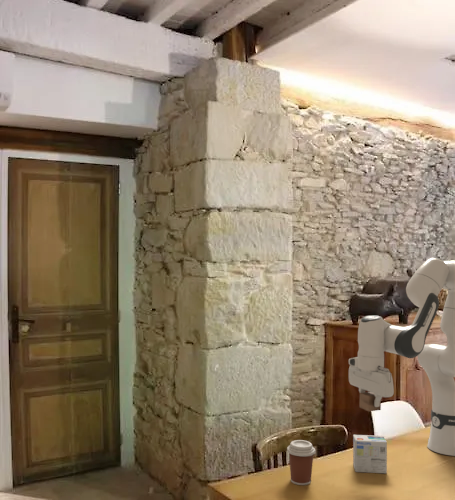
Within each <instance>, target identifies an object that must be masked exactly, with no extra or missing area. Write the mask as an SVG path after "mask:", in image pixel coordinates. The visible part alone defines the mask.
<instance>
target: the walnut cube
mask: <svg viewBox="0 0 455 500" xmlns="http://www.w3.org/2000/svg"><path fill="white" fill-rule="evenodd" d="M375 398H376V397H375V394H374V393H372V392H369V391H365V392H363V393H360V392H359V408H360V409H362V410H364V411H367V412H377V411H381V410H382V407H381V406H382V402H381V401H382V400H381V401H380V406H379V407H375V406H373V401H375Z"/></svg>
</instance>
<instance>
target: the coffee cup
mask: <svg viewBox="0 0 455 500" xmlns="http://www.w3.org/2000/svg"><path fill="white" fill-rule="evenodd" d="M286 451H287V453H288V455H289V456H288V457H289V469H290V470H289V472H290V482H291V483H292V484H294V485H297V486H307V485H310V484H311V482H312V474H313V473H312V471H313V463H314V455H315V454H316V448H315V447H314V446H313V444H312V443H311V442H310V441H308V440H303V439H295V440H292V441H291V442H290V444H289V445H288V446H287V448H286Z"/></svg>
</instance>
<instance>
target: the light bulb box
mask: <svg viewBox="0 0 455 500" xmlns="http://www.w3.org/2000/svg"><path fill="white" fill-rule="evenodd" d="M352 438H353V439H352V442H353V443H352V444H353V446H352V447H353V451H352V457H353V460H352V465H353V469H354V472H355V473H369V474H371V473H372V474H373V473H374V474H375V473H376V474H387V472H388V465H387V462H388V458H387V457H388V450H387V448H388V445H387V444H388V441H387V440H386V438H385V437H384V435H371V434H369V435H368V434H353V435H352Z"/></svg>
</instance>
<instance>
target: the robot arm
mask: <svg viewBox="0 0 455 500" xmlns="http://www.w3.org/2000/svg"><path fill="white" fill-rule="evenodd" d="M442 289H444V290H447V291H448V292H447V296H446V299H445V302H444V306H443V310H442V314H441V320H440V324H439V328H440V330H441V332H442V333H443V334H444V335H445V336H446V342H447V344H446V345H444V344H439V343H428V344H427V343H426V340H427V336H428V334H429V331H430V329H431V326H432V325H433V323H434V321H435V317H436V316H437V313H438V311H439V307H440V299H439V294H440V292H441V291H442ZM405 292H406V296H407V298H408V300H409V301H410V302H411V303H412V304H413V305H414V306H416V307H418V310H417V312H416V315H415V316H414V319H413V321H412V323H411V324H410V325H408V326H400V325H394V324H391V323H389V322H388V321H386V320H384V319H383V317H382V316H379V315H365V316H364V317H362V318H361V319H360V320H359V323H358V324H359V325H358V327H357V328H358V329H357V343H358V351H357V356H355V357H351V358H349V359H348V365H349V368H348V382H349V384H350V385H351V386H354V387H356V388H358V392H359V394H360V393H363V392H372V393H374V394H375V397H376V398H375V401H373V406H375V407H379V406H380V401H382V399H383V398H392V397H393V395H394V393H395V390H394V389H395V387H394V379H393V375H392V374H393V373H391V371H390V369H389V368H387V367H385V352H386V353H390V354H394V355H398V356H401V357H404V358H406V359H414V358H417V362H418V364H419V365H420V367H421V368H422V369H423V370H424V372H425V373H426V376H427V377H428V381H429V383H430V389H431V395H432V396H431V397H432V398H431V399H432V400H431V401H432V403H431V406H432V407H431V408H432V409H431V411H430V421H431V422H430V430H429V438H427V439H428V440H427V449H429V450H430V451H432V452H435V453H438V454H441V455H446V456H453V457H455V379H454V378H455V259H454V260H453V259H452V260H442V259H440V258H435V257H431V258H428V259H426V260H425V261H424V262H423V263H422V264H421V265H420V266H419V267H418V268H417V270H416V271H415V272H414V273H413V275H412V276H411V278H409V280H408V282H407V284H406V287H405Z"/></svg>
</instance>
